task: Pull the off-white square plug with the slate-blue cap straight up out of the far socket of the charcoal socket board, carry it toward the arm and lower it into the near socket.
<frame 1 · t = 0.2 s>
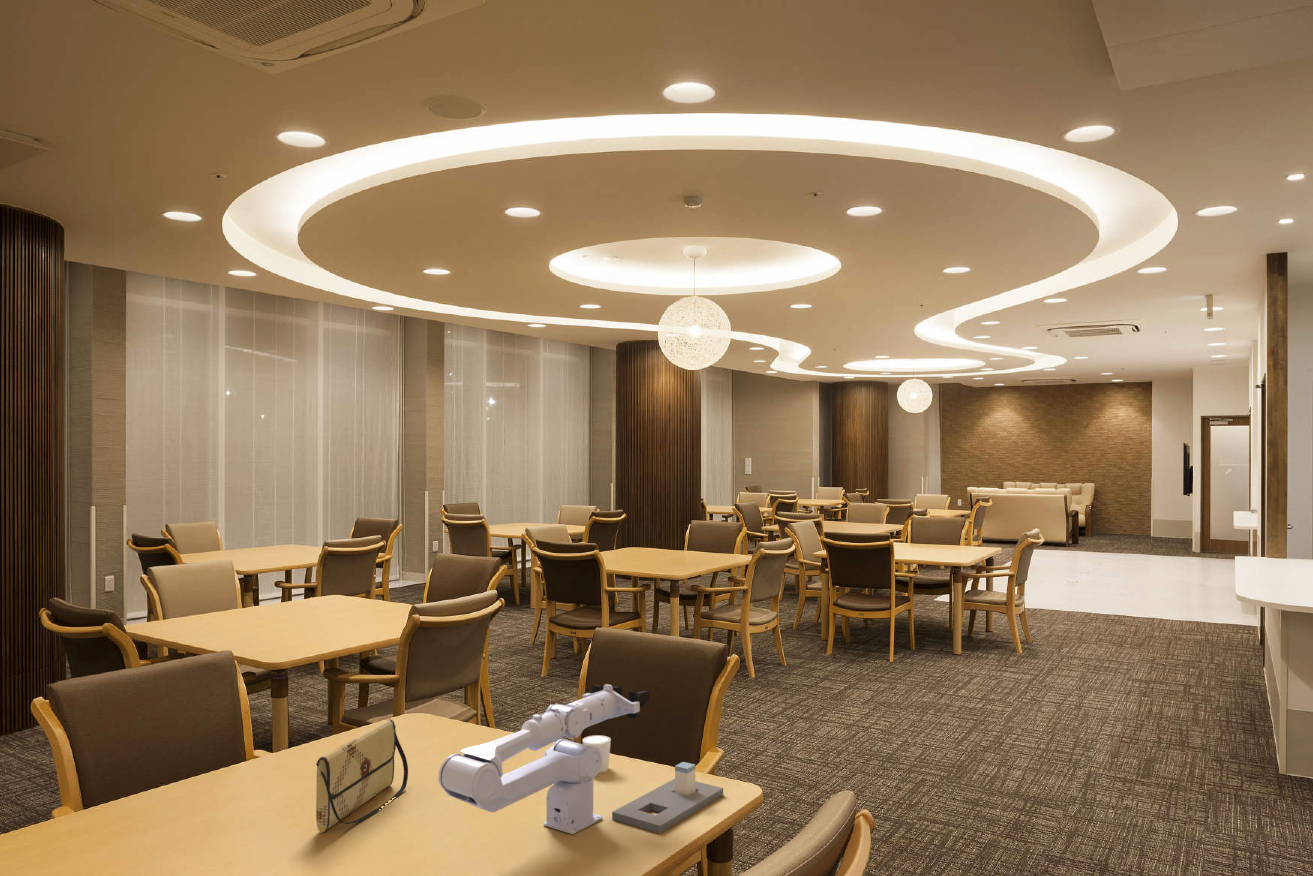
hand: (634, 693, 186), 21 cm above the table, tool horizontal, fingers open, 7 cm apart
white round cup: (596, 769, 200), on the table
socket board: (669, 806, 177), on the table
clutch purse: (367, 809, 177), on the table
plug: (685, 798, 182), resting in socket board
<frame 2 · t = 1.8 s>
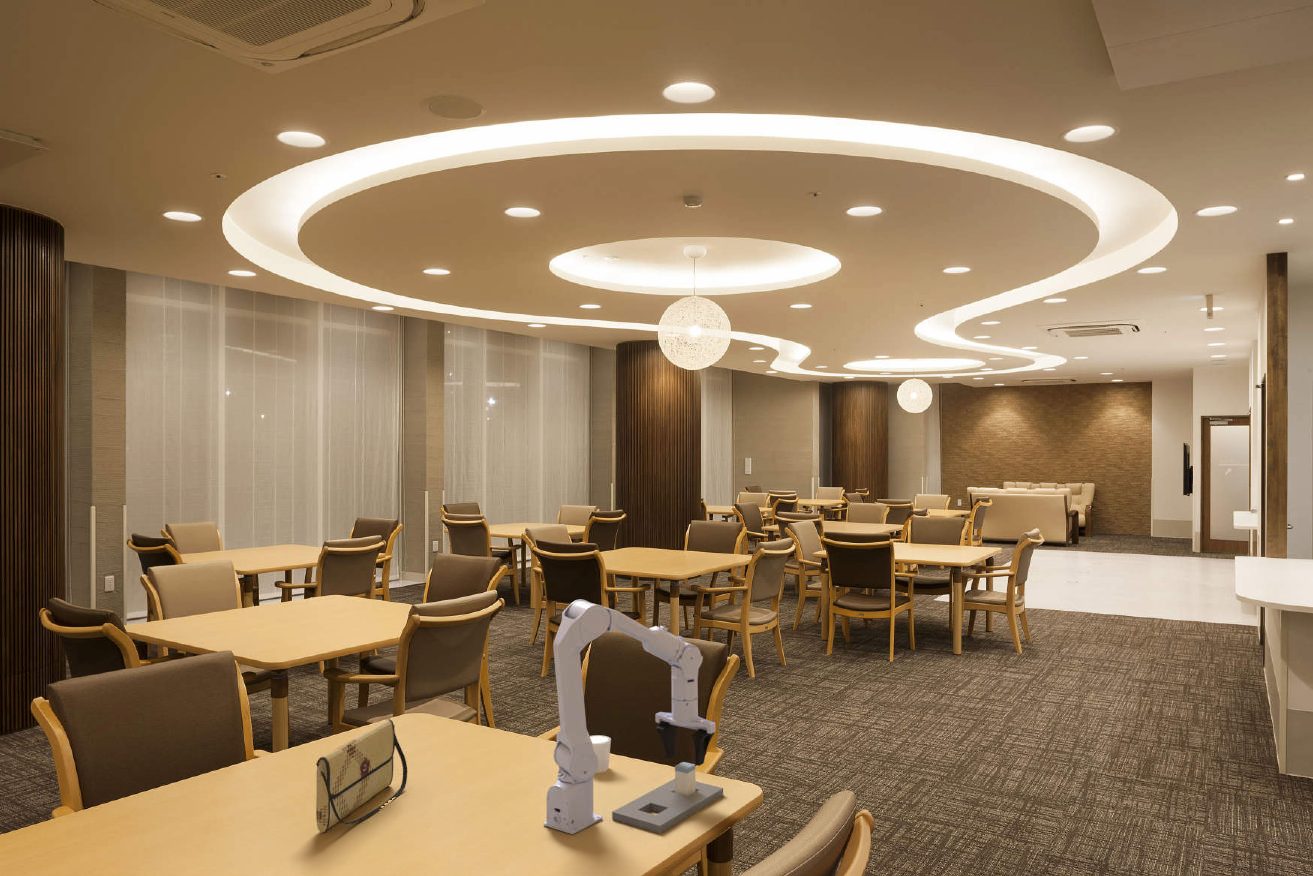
hand: (685, 760, 182), 8 cm above the table, tool pointing down, fingers open, 7 cm apart
nothing on the table moved.
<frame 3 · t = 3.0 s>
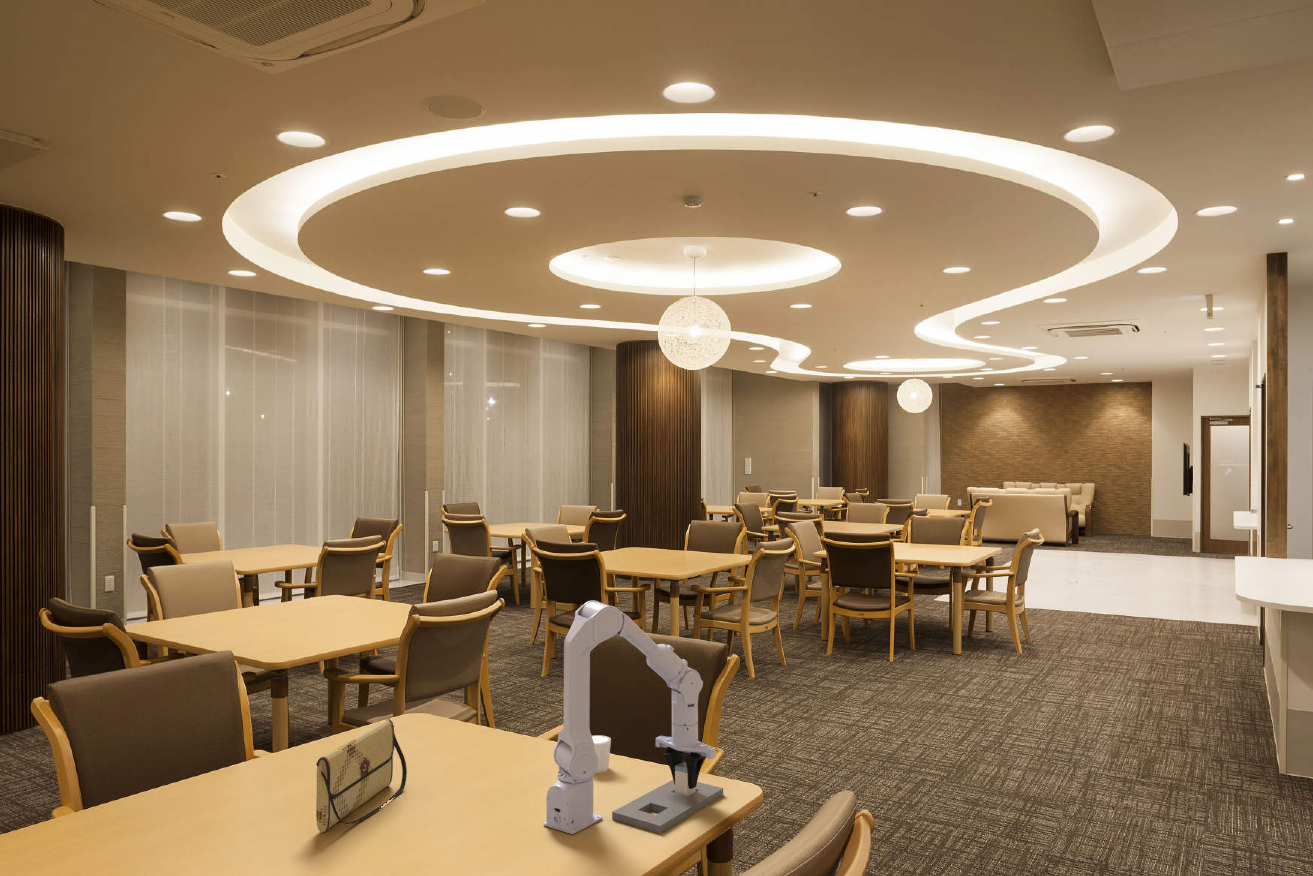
hand: (685, 785, 182), 3 cm above the table, tool pointing down, fingers closed on plug, 3 cm apart
plug: (685, 798, 182), resting in socket board, touching gripper
everything else where it was.
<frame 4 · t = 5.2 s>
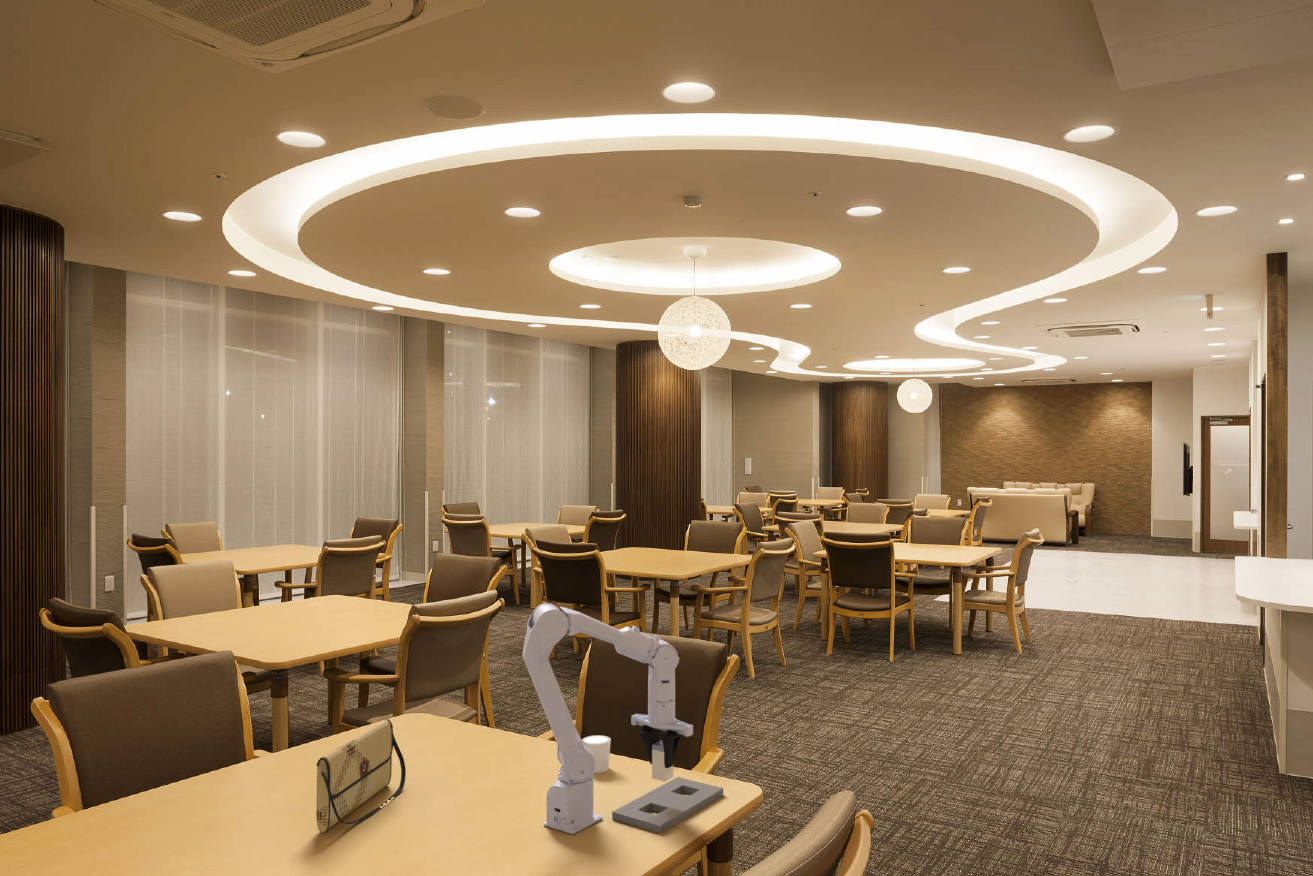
hand: (661, 765, 175), 9 cm above the table, tool pointing down, fingers closed on plug, 3 cm apart
plug: (662, 777, 175), point 7 cm above the table, touching gripper
everything else where it was.
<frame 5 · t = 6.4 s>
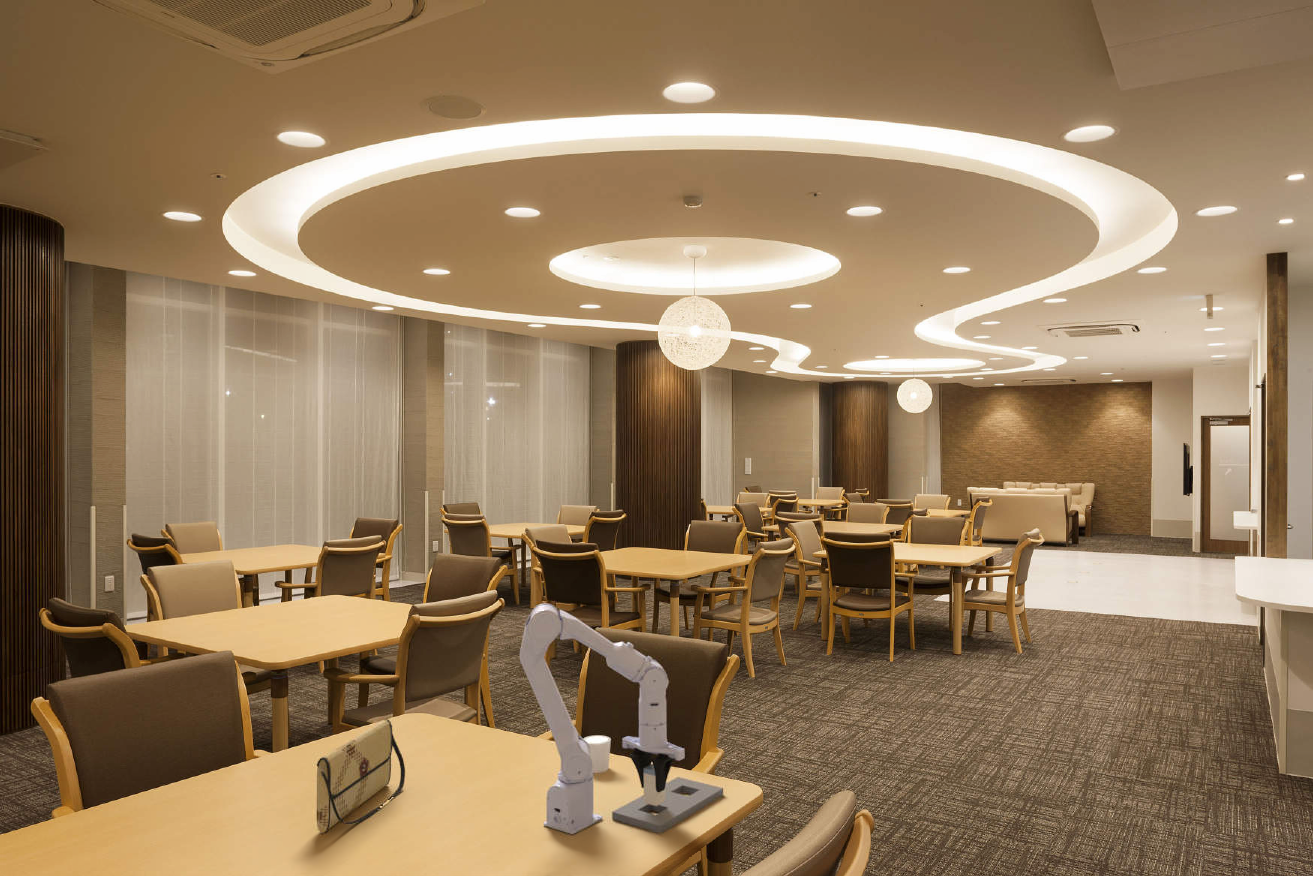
hand: (653, 788, 172), 6 cm above the table, tool pointing down, fingers closed on plug, 3 cm apart
plug: (654, 801, 172), point 3 cm above the table, touching gripper
everything else where it was.
when the fingers open (3 cm above the table, at t = 7.3 s): plug stays where it is, resting in socket board.
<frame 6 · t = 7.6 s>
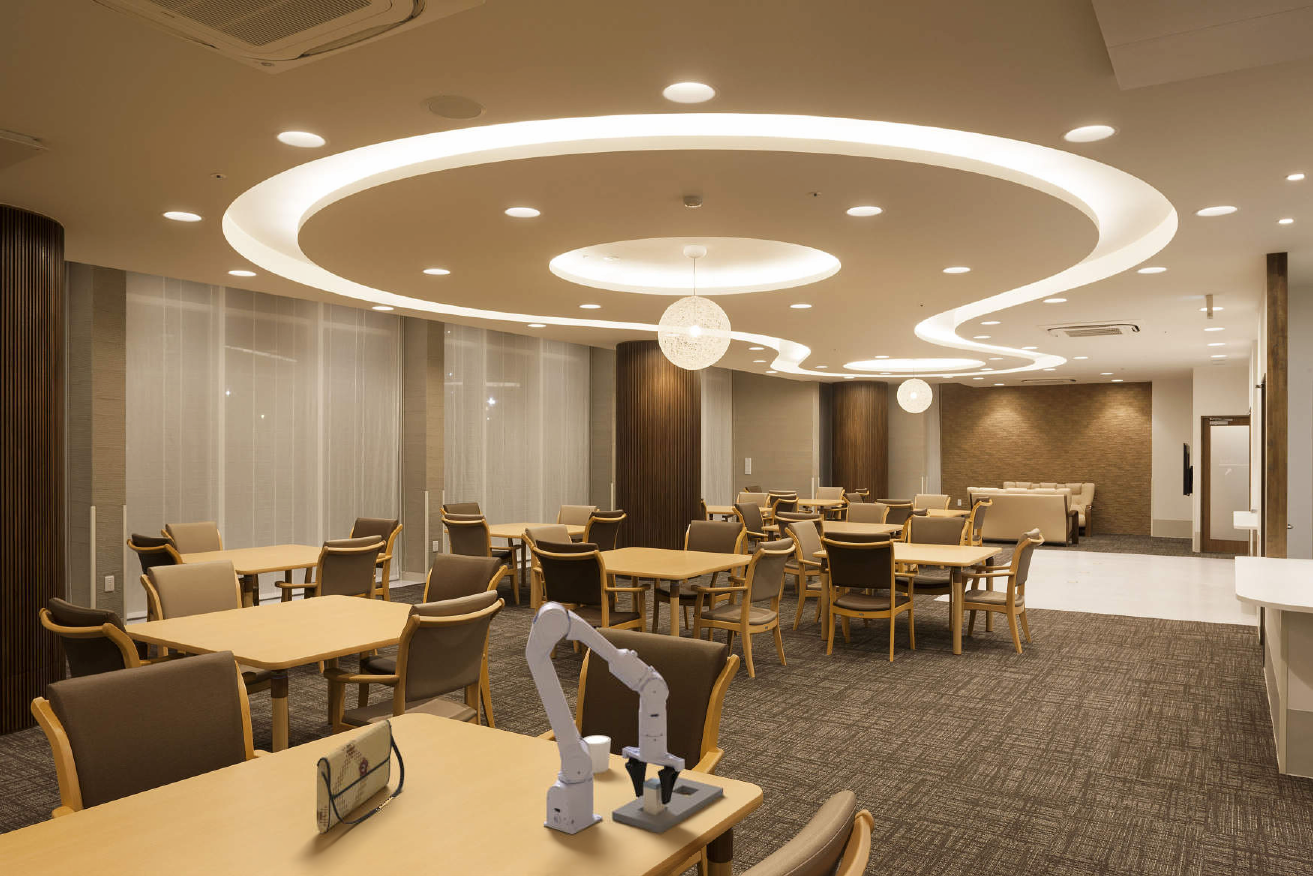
hand: (653, 799, 172), 3 cm above the table, tool pointing down, fingers open, 6 cm apart
plug: (654, 815, 172), resting in socket board
everything else where it was.
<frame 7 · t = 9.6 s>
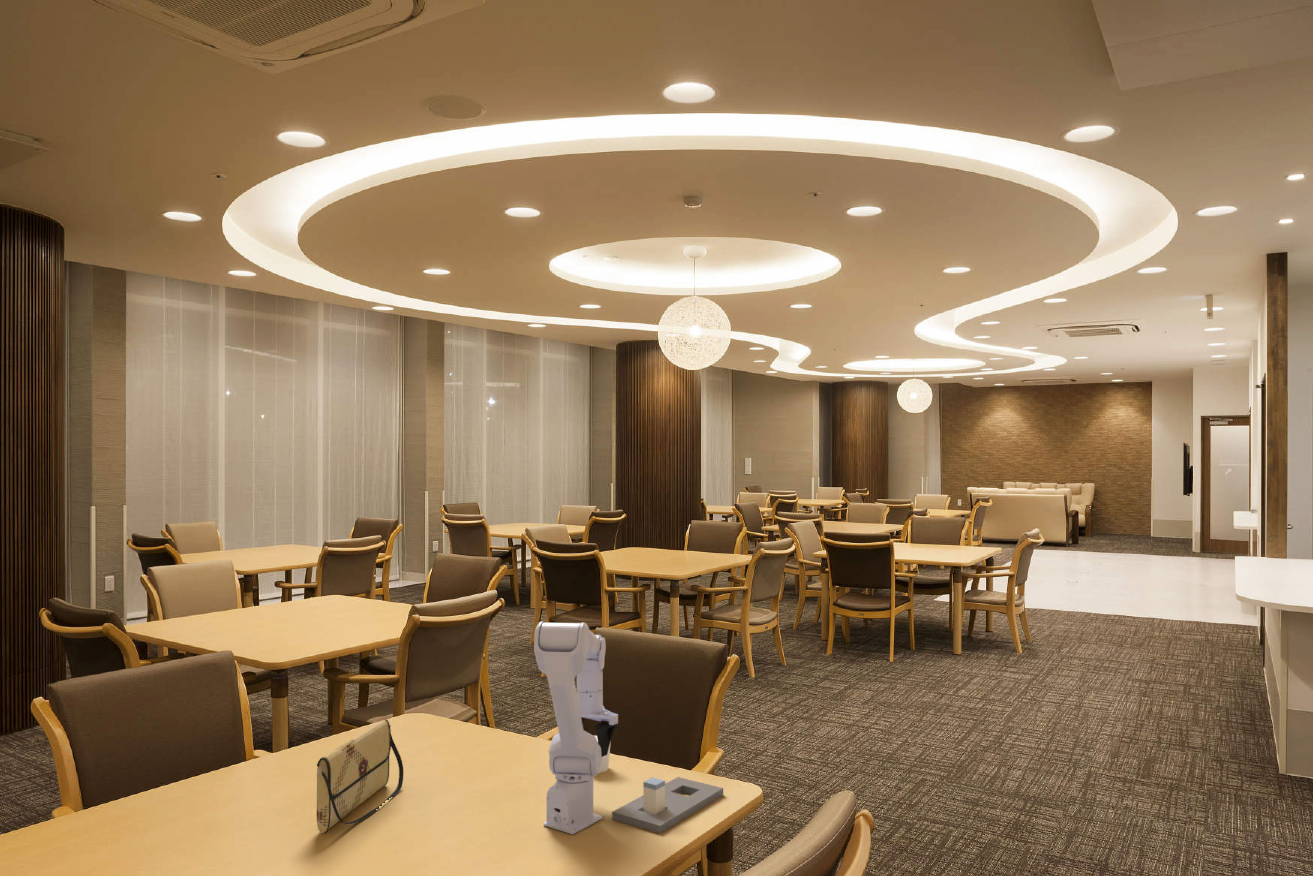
hand: (589, 752, 183), 9 cm above the table, tool pointing down, fingers open, 7 cm apart
nothing on the table moved.
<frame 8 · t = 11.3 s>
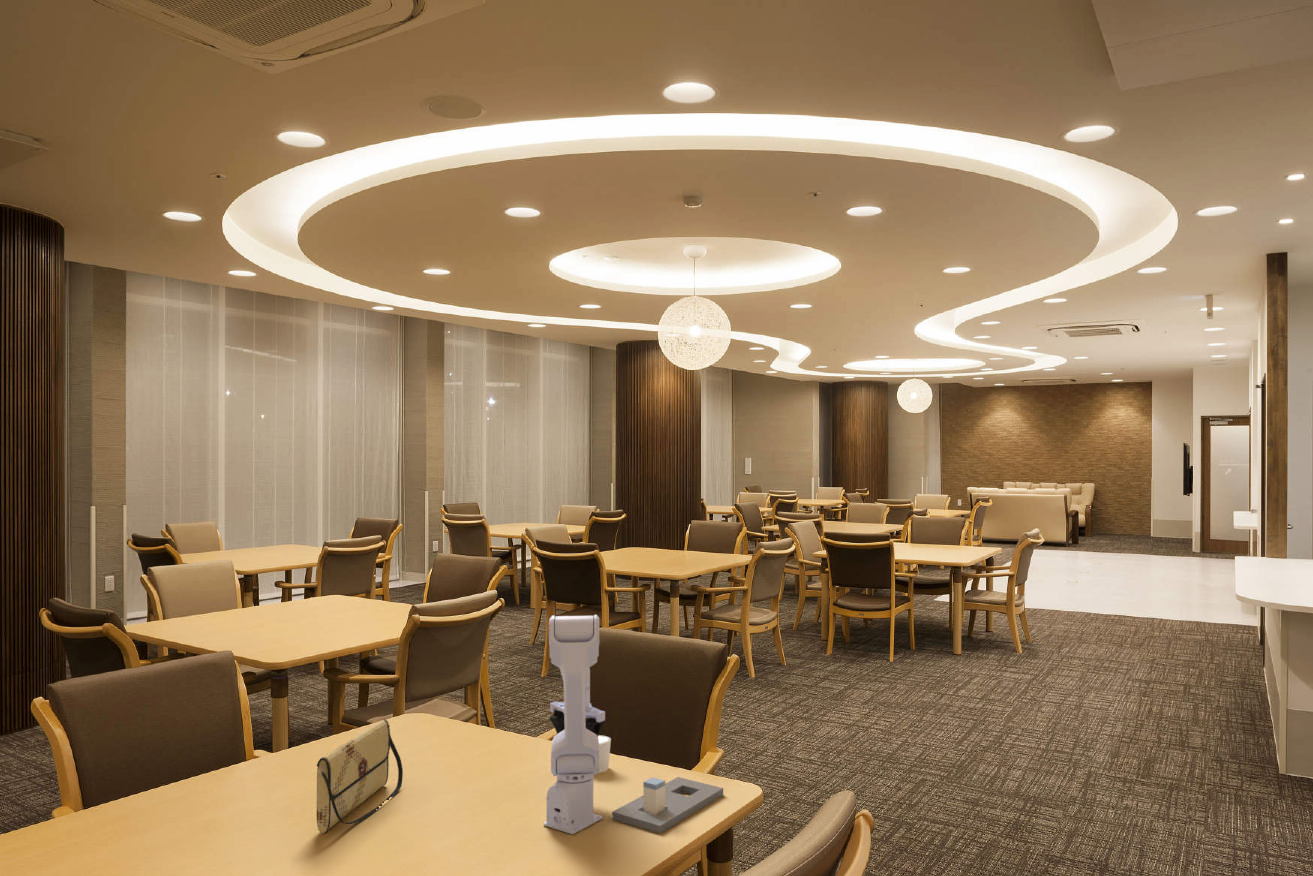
hand: (577, 749, 186), 9 cm above the table, tool pointing down, fingers open, 7 cm apart
nothing on the table moved.
at the end: plug 0.4 cm from the target spot on the socket board, point 0.0 cm above the socket board's base; plug tilted 0°; the gripper is holding nothing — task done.
